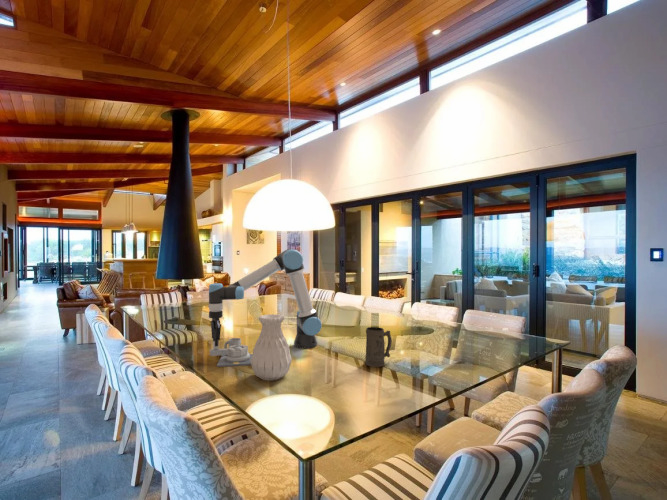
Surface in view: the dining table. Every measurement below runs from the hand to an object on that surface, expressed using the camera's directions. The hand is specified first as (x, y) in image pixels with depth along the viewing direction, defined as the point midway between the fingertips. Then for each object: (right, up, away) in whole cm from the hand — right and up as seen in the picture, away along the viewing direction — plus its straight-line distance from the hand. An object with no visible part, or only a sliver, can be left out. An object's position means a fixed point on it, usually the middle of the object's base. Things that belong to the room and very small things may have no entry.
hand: (215, 351), depth 206 cm
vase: (+37, -5, -28) cm, 47 cm away
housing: (+14, -4, -3) cm, 15 cm away
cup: (+7, -5, +10) cm, 13 cm away
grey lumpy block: (+9, -1, -4) cm, 10 cm away
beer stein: (+93, -5, -7) cm, 93 cm away
